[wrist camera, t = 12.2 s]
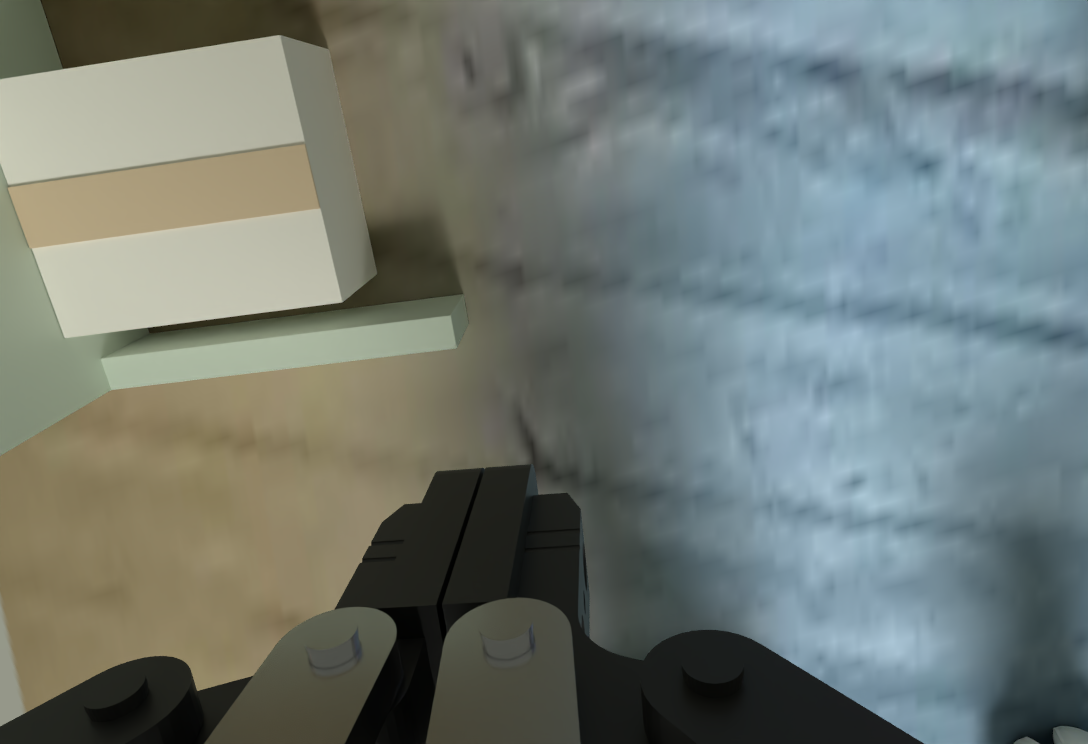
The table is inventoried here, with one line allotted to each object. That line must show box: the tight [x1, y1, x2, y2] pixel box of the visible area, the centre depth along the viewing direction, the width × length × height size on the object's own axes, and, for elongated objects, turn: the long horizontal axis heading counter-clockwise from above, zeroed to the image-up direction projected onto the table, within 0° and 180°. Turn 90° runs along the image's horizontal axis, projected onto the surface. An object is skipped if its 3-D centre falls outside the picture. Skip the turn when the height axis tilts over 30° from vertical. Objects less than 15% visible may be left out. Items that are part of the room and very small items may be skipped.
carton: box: [0, 35, 377, 338], centre depth 31 cm, size 12×10×6 cm
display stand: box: [0, 0, 469, 456], centre depth 22 cm, size 18×22×21 cm
